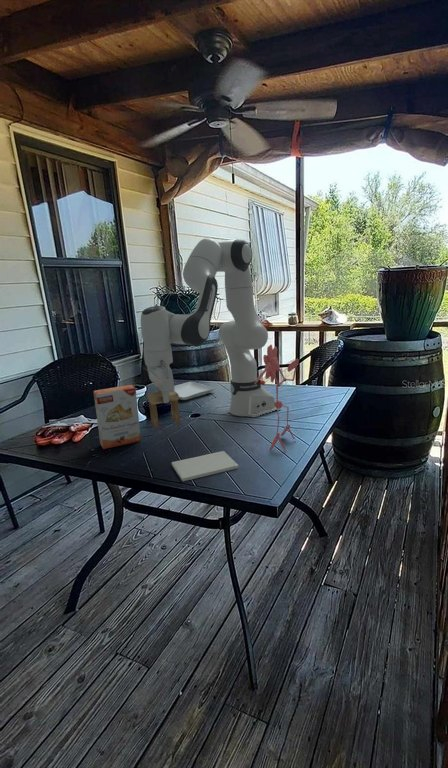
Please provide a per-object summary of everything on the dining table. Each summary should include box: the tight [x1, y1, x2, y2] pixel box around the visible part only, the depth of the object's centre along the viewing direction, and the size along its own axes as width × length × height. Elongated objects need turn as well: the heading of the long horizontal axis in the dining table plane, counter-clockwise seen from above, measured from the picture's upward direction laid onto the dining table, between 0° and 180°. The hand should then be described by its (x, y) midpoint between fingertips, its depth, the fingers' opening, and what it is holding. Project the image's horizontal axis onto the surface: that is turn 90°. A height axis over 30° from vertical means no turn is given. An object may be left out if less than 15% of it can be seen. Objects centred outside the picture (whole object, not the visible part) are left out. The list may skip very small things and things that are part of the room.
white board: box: [171, 450, 239, 482], centre depth 127 cm, size 18×12×1 cm, turn 112°
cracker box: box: [93, 384, 141, 450], centre depth 146 cm, size 14×6×21 cm, turn 117°
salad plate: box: [174, 381, 216, 401], centre depth 207 cm, size 21×21×3 cm
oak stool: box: [146, 391, 181, 430], centre depth 133 cm, size 9×6×10 cm, turn 112°
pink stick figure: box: [254, 344, 300, 451], centre depth 137 cm, size 15×26×35 cm, turn 150°
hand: (163, 399), depth 133 cm, fingers closed on oak stool, 6 cm apart
